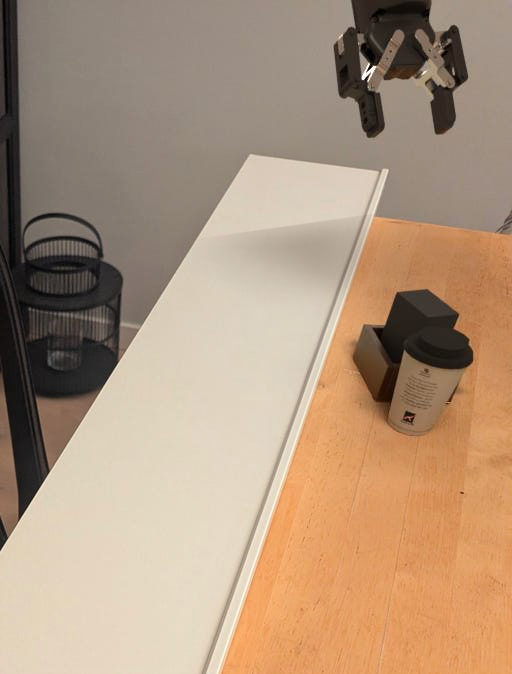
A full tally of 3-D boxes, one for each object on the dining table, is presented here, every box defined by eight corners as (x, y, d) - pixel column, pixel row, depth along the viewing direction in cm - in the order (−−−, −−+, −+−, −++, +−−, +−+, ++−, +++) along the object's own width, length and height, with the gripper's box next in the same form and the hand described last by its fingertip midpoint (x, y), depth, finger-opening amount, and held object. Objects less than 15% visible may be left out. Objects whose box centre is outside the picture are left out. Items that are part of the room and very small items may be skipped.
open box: (422, 360, 109) (436, 326, 106) (450, 404, 102) (465, 369, 99) (352, 358, 108) (363, 323, 105) (375, 401, 102) (387, 366, 99)
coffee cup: (405, 447, 96) (441, 360, 88) (363, 412, 100) (393, 327, 93) (455, 434, 98) (494, 348, 91) (412, 401, 102) (446, 317, 95)
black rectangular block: (401, 358, 107) (427, 288, 101) (430, 385, 103) (460, 313, 97) (371, 362, 106) (396, 291, 100) (400, 389, 102) (428, 317, 96)
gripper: (348, -49, 91) (374, 115, 91) (469, -49, 94) (493, 110, 95) (308, 2, 98) (332, 154, 99) (421, 0, 101) (443, 147, 102)
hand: (411, 132), depth 97 cm, fingers open, 8 cm apart
